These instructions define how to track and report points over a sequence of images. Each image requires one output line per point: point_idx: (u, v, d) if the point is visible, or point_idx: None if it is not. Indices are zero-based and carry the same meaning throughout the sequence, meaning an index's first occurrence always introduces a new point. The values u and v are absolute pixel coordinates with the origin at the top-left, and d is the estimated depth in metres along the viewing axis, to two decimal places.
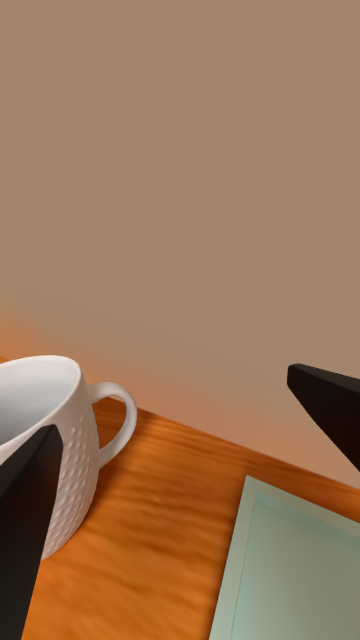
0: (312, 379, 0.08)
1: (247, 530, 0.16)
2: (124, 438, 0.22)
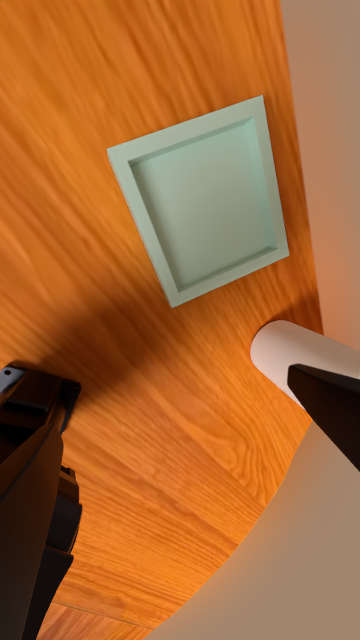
0: (312, 379, 0.08)
1: (217, 126, 0.15)
2: None
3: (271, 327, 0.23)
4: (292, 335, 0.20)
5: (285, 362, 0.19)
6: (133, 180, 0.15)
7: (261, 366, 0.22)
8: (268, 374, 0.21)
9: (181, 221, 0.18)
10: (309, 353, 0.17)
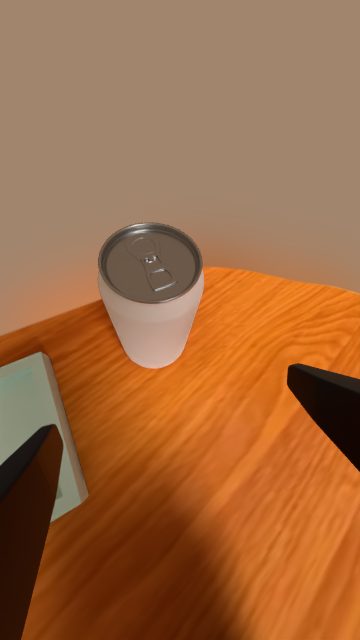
0: (312, 379, 0.08)
1: None
2: None
3: (125, 351, 0.20)
4: None
5: (140, 350, 0.16)
6: None
7: (168, 360, 0.19)
8: (171, 355, 0.18)
9: None
10: (119, 332, 0.15)
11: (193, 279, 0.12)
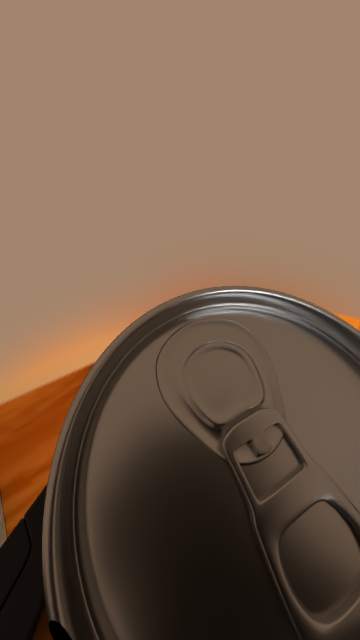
0: None
1: None
2: None
3: None
4: None
5: None
6: None
7: None
8: None
9: None
10: None
11: None
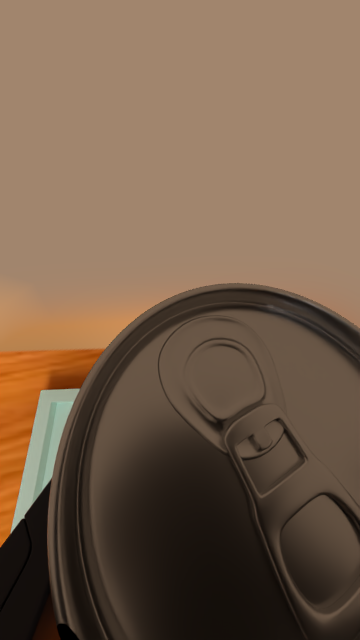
0: None
1: (41, 443, 0.17)
2: None
3: None
4: None
5: None
6: None
7: None
8: None
9: None
10: None
11: None
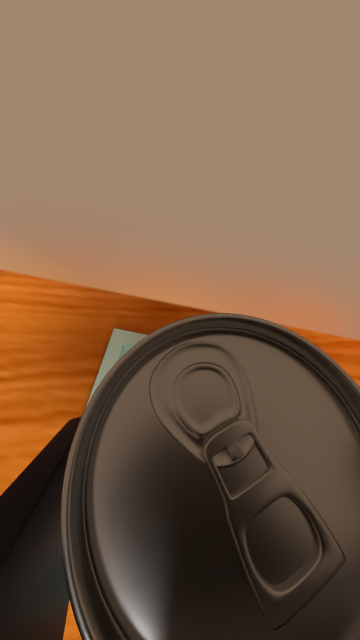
0: None
1: None
2: None
3: None
4: None
5: None
6: None
7: None
8: None
9: None
10: None
11: None
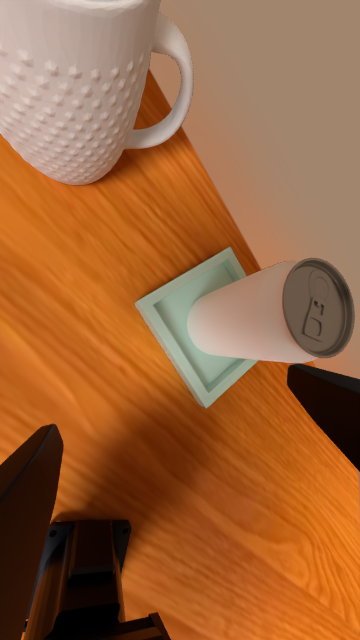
0: (312, 379, 0.08)
1: (208, 269, 0.22)
2: (157, 137, 0.19)
3: (190, 317, 0.21)
4: (204, 310, 0.18)
5: (218, 339, 0.17)
6: (158, 316, 0.20)
7: (216, 354, 0.20)
8: (225, 356, 0.19)
9: None
10: (221, 315, 0.16)
11: (330, 349, 0.12)
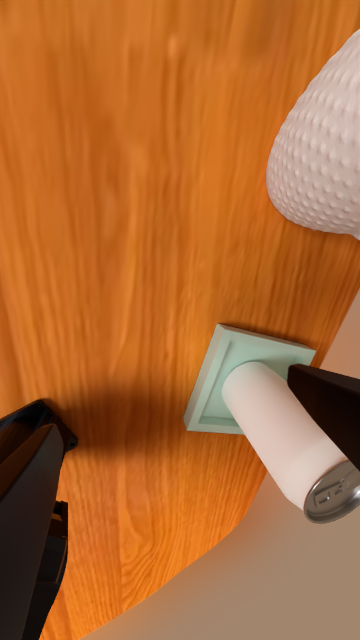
0: (312, 379, 0.08)
1: (286, 352, 0.23)
2: None
3: (241, 370, 0.23)
4: (258, 384, 0.20)
5: (249, 415, 0.19)
6: (224, 351, 0.21)
7: (230, 410, 0.22)
8: (236, 420, 0.21)
9: None
10: (270, 410, 0.17)
11: (314, 514, 0.15)
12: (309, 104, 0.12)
